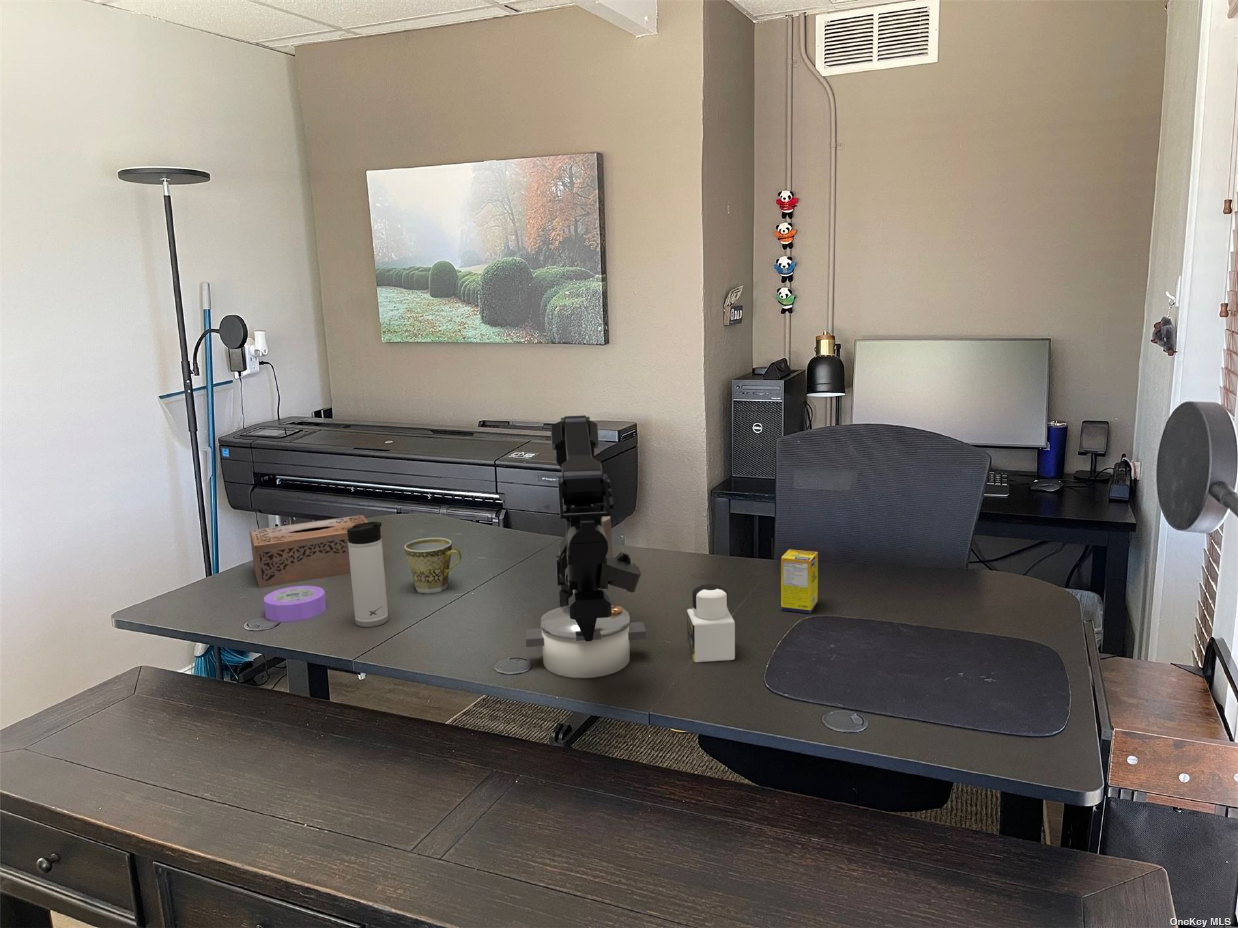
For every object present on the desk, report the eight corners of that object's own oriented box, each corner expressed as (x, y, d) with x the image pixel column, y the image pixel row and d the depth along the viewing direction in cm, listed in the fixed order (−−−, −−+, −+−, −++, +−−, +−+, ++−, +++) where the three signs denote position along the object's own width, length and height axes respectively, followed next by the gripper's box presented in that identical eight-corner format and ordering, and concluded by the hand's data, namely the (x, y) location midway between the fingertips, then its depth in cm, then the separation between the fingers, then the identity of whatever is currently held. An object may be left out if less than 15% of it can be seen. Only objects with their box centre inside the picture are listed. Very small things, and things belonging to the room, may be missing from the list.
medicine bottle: (687, 646, 158) (686, 582, 156) (726, 643, 159) (726, 579, 156) (693, 663, 151) (692, 596, 149) (735, 660, 152) (735, 593, 150)
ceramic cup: (398, 593, 190) (394, 548, 188) (425, 578, 199) (422, 535, 197) (450, 600, 185) (447, 554, 183) (475, 584, 194) (472, 540, 192)
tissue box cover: (366, 554, 220) (362, 514, 218) (377, 570, 207) (374, 528, 205) (254, 571, 209) (249, 530, 207) (259, 589, 196) (254, 545, 194)
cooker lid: (540, 612, 160) (540, 601, 159) (625, 607, 161) (624, 596, 161) (541, 645, 143) (541, 633, 143) (635, 639, 144) (635, 627, 144)
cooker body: (527, 643, 162) (526, 612, 160) (639, 636, 163) (638, 605, 162) (527, 682, 146) (525, 647, 145) (650, 673, 148) (649, 639, 147)
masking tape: (303, 598, 190) (301, 581, 189) (338, 608, 183) (336, 591, 182) (253, 616, 180) (251, 598, 179) (288, 627, 174) (286, 608, 173)
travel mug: (381, 628, 171) (372, 527, 167) (349, 626, 172) (340, 527, 168) (395, 616, 177) (387, 519, 173) (364, 614, 178) (356, 518, 174)
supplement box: (817, 604, 177) (818, 551, 174) (810, 614, 171) (811, 560, 169) (788, 600, 179) (788, 548, 177) (780, 610, 174) (780, 557, 172)
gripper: (643, 562, 131) (646, 661, 134) (629, 527, 149) (632, 615, 152) (567, 566, 130) (572, 666, 133) (563, 531, 148) (567, 620, 151)
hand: (588, 640), depth 142 cm, fingers closed
